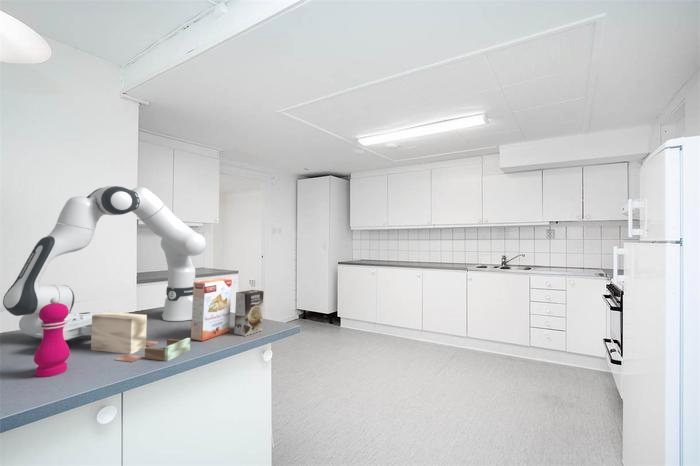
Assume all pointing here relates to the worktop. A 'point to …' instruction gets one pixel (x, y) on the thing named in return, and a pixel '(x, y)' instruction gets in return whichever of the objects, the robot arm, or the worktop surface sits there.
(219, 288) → the cracker box
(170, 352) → the trap course
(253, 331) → the coffee box
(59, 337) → the pepper mill
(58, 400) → the worktop surface
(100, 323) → the maple block
